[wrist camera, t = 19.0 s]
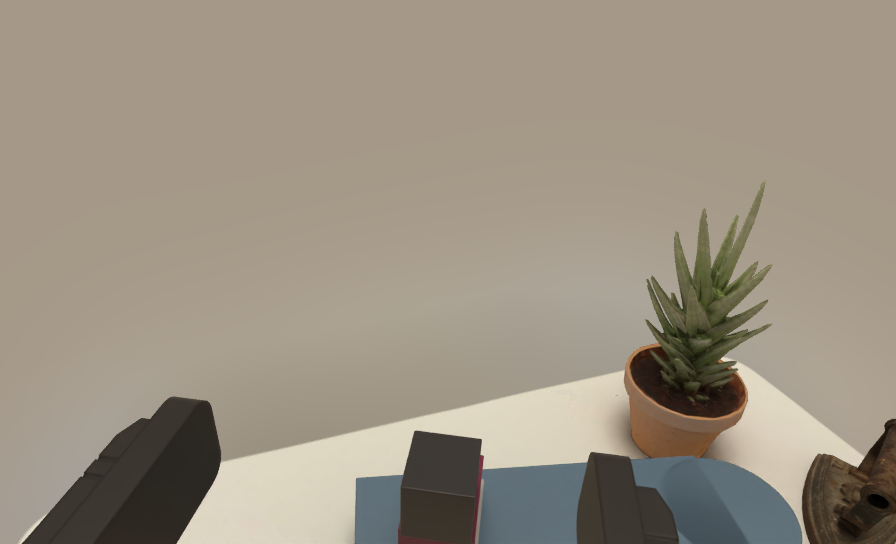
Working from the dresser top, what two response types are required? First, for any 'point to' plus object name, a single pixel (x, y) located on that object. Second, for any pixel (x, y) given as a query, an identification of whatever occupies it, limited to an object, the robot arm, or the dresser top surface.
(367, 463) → the dresser top surface
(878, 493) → the clothes iron
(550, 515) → the ironing board
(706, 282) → the potted plant
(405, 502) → the stacked block tower
